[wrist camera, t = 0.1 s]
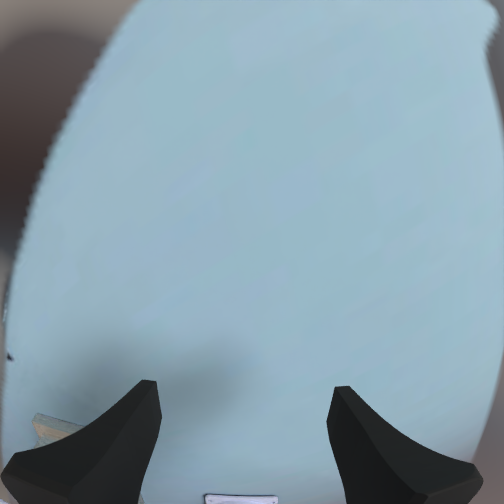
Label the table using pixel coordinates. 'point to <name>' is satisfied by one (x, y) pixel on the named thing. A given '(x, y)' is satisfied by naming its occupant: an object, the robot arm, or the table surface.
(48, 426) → the stand frame
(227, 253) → the table surface
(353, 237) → the table surface
